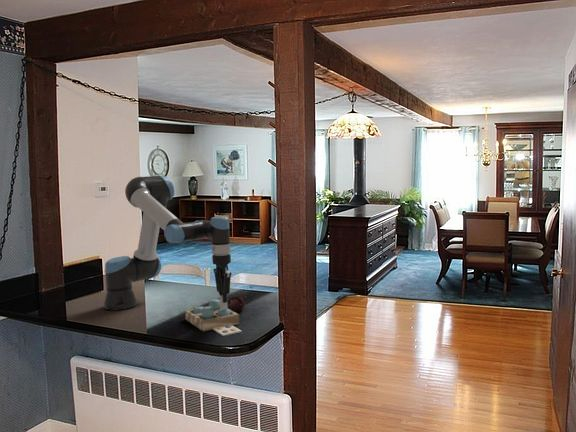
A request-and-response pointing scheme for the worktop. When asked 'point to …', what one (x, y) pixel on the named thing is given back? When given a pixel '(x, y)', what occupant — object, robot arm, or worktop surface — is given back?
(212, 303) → the teal blunt egg shape
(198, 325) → the wooden compartment tray
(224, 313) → the teal blunt tapered piece
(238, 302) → the icecream
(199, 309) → the teal rounded lump
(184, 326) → the worktop surface
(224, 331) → the card
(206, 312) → the teal domed cylinder
